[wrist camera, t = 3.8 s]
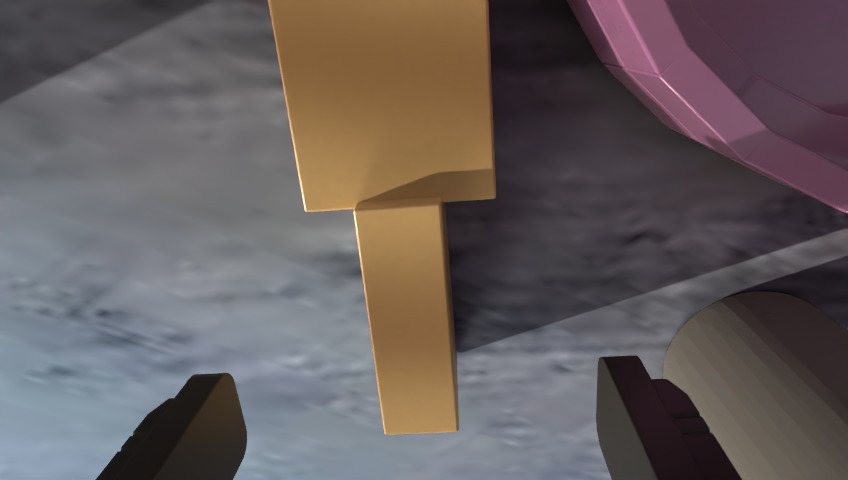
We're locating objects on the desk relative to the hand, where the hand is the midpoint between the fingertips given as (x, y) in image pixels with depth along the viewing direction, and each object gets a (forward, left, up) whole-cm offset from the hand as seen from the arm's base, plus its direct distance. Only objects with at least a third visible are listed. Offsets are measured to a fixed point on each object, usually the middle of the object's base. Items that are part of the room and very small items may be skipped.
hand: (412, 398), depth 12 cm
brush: (0, +3, -7) cm, 7 cm away
